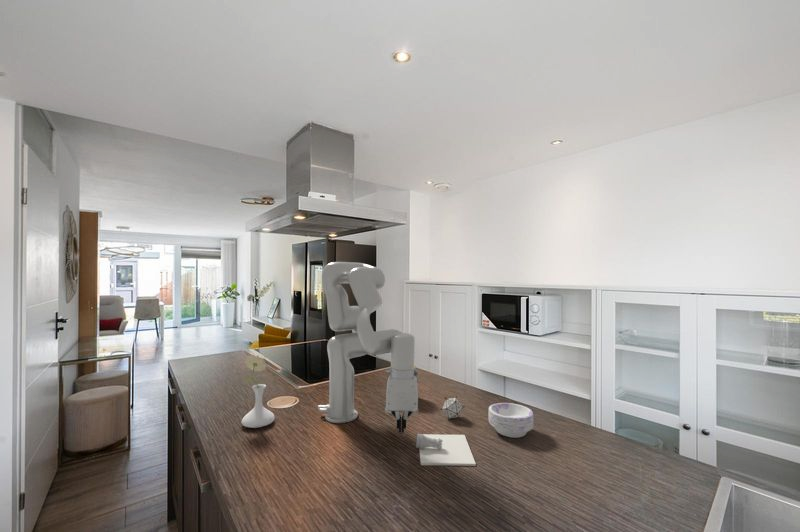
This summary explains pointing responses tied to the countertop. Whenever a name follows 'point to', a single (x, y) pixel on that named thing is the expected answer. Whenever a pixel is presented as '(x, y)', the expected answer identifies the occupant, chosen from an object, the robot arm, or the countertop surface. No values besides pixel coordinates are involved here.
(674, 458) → the countertop surface
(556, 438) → the countertop surface
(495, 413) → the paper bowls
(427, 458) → the mat
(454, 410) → the game die
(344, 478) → the countertop surface
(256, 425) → the flower in vase
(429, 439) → the rook chess piece
